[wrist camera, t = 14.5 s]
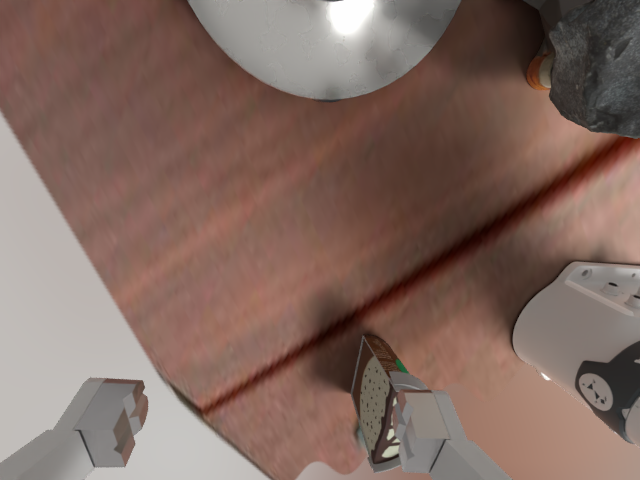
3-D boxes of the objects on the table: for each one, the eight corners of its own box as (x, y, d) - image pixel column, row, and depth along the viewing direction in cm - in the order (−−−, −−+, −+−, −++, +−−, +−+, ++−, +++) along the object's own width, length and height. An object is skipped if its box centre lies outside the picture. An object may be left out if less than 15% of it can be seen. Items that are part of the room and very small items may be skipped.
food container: (391, 400, 47) (425, 471, 38) (348, 402, 46) (373, 476, 37) (411, 324, 43) (454, 384, 34) (364, 324, 42) (397, 386, 32)
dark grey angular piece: (453, 125, 35) (637, 146, 18) (487, -65, 29) (798, -285, 13) (572, 131, 37) (827, 153, 21) (625, -43, 32) (1029, -200, 15)
